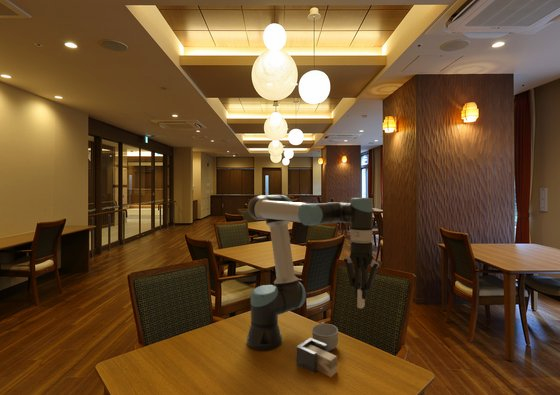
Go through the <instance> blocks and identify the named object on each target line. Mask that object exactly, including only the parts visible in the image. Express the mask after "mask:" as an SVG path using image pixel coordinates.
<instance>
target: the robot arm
mask: <svg viewBox="0 0 560 395" xmlns="http://www.w3.org/2000/svg"><path fill="white" fill-rule="evenodd" d="M373 208H374V207H373V199H371V198H370V197H352V198H350V202H337V201H331V202H323V203H322V202H321V203H320V202H319V203H311V202H295V201H294V202H293V201H292V200H291V198H290V197H289V196H287V195H285V194H284V195H283V194H265V195H264V194H262V195H256V196H254V197H252V198H251V199H250V200H249V202H248V204H247V212H248V215H250V217H251V218H253V219H254V220H258V221H265V223H266V225H267V226H268V227H269V231H270V238H271V245H272V247H271V248H272V254H273V260H274V267H275V268H274V269H275V276H276V279H275V280H274V281H273V284H266V285H265V284H264V285H259V286H257V287H255V288H254V289H253V290H252V291H251V294H250V295H251V296H250V326H249V330H248V334H247V337H246V344H247V346H248V347H249V348H251V349H252V350H255V351H259V352H260V351H264V352H265V351H272V350H275V349H277V348H279V347H280V346H281V345H282V343H283V342H282V341H283V338H282V337H283V335H282V333H281V331H280V330H281V329H280V327H279V322H278V321H279V319H278V318H279V315H282V314H284V313H288V312H291V311H295V310H297V309H298V308H301V307H303V305H304V303H305V302H306V297H307V294H306V293H307V292H306V289H305V286H304V284H303V283H301V282H300V280H299V278H298V277H297V276H296V275H295V269H294V263H293V262H294V261H293V253H292V247H291V246H292V245H291V240H290V238H291V237H290V232H289V227H288V226H289V225H288V224H290V222H295V223H301V224H302V225H303V226H309V227H310V226H311V227H312V226H316V225H319V226H320V225H325V224H337V223H338V224H339V223H340V224H341V223H344V224H350V250H349V251H350V253H349V256H348V257H346V258H344V259H343V262H344V264H345V266H346V272H347V277H348V281H349V285H350V286H351V287H354V290H355V292H354V294H355V295H354V296H355V298H357V299H356V300H357V302H356V304H357V309H363V308H364V307H365V301H366V299H367V297H368V291H369V290H371V289H373V286H374V283H375V278H376V275H377V272H378V271H377V270H378V268H379V267H380V266H381V263H380V262H378V261H376V260H374V256H373V242H372V241H373V213H374V209H373ZM370 265H371V266H370ZM369 266H370V267H371V268H370V272H368V270H369ZM368 273H369V275H368Z"/></svg>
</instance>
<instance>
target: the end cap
mask: <svg viewBox="0 0 560 395" xmlns="http://www.w3.org/2000/svg"><path fill="white" fill-rule="evenodd" d="M310 344H311V345H313V346H315V347H317V348H320V349H322V350H324V351H326V352H328V351H327V344H325V343H323V342H320V341H318V340H315V339H313V337H309V338H308V339H306V340H304V341H303V342H301V343H299V344H298V345H297V346H296V348H295V350H296V360H295V361H296V365H295V366H298V367H300V368H302V369H305V371H308V372H310V373H312V374H315V373H316V372H317V370H316V352H314V351H312V350H309V349H307V348H306V347H307V346H309V345H310Z"/></svg>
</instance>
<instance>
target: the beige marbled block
mask: <svg viewBox="0 0 560 395" xmlns="http://www.w3.org/2000/svg"><path fill="white" fill-rule="evenodd" d="M306 348H307V349H309V350H312V351H314V352H316V371H318V372H320V373H322V374H324V375H325V376H328V377H330V378H332V377H333V376H334V375H335V374H337V372H338V355H335V354H333V353H331V352H330V351H327V352H326V351H324V350H322V349H320V348H317V347H315V346H313V345H311V344H310V345H309V346H307V347H306Z"/></svg>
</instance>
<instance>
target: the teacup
mask: <svg viewBox="0 0 560 395" xmlns="http://www.w3.org/2000/svg"><path fill="white" fill-rule="evenodd" d="M311 332H312V334H311V336H312V339H315V340H318V341H320V342H323V343H325V344H327V352H331V351H332V350H334V349H335V348H336V347H337V346H338V343H339V329H338V327H337V326H336V325H334V324H330V323H325V322H324V321H321V322H320V323H319V324H316V325H314V326H313V327H312V328H311Z"/></svg>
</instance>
